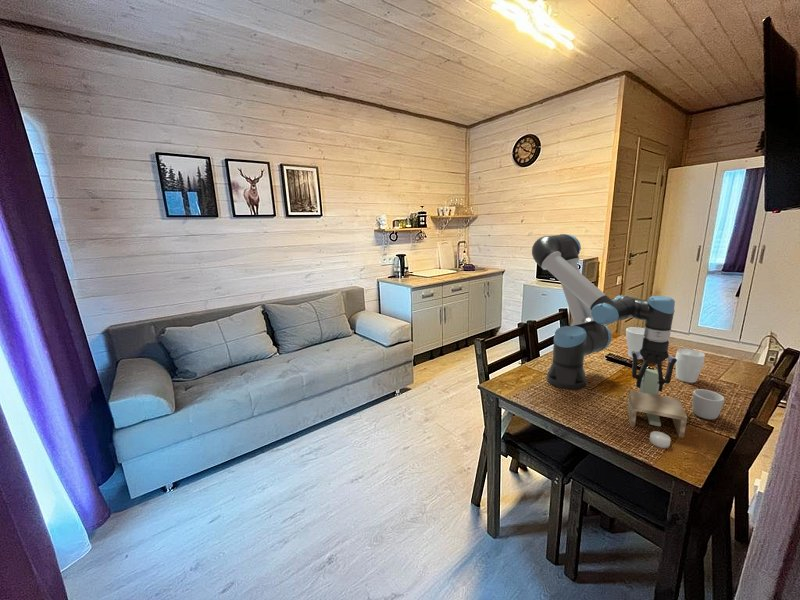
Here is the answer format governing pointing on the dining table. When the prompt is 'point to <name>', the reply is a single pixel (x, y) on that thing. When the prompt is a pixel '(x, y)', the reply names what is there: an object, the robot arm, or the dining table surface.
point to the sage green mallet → (651, 392)
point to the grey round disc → (660, 439)
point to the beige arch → (657, 408)
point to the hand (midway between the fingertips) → (647, 396)
